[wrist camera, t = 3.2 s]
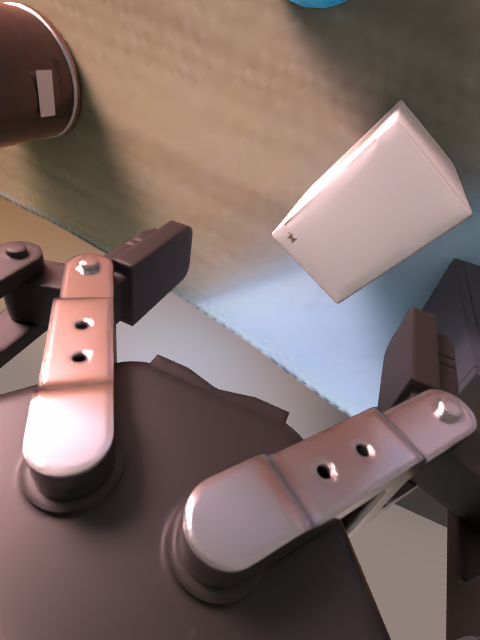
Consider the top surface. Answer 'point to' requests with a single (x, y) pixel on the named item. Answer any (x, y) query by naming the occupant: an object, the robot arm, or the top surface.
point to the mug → (318, 3)
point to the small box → (375, 206)
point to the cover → (470, 355)
